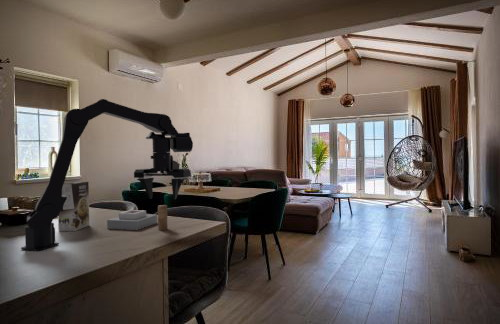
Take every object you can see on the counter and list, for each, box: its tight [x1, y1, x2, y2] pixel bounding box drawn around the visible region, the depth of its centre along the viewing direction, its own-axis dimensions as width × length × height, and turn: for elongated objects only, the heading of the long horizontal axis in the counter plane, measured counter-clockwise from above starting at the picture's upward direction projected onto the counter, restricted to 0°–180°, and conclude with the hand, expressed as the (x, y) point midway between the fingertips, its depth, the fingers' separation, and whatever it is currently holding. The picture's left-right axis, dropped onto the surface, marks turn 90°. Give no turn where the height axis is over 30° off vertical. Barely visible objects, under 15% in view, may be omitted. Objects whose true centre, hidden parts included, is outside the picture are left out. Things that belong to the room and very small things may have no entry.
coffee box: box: [57, 181, 91, 232], centre depth 114 cm, size 9×6×16 cm
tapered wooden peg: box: [157, 204, 169, 231], centre depth 110 cm, size 3×3×8 cm
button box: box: [106, 209, 158, 231], centre depth 117 cm, size 12×12×5 cm
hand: (162, 198), depth 110 cm, fingers open, 9 cm apart
